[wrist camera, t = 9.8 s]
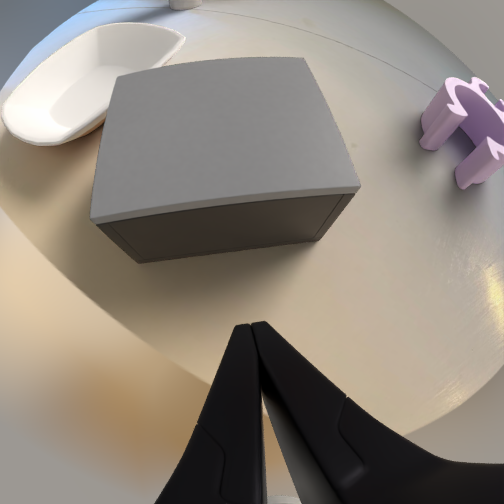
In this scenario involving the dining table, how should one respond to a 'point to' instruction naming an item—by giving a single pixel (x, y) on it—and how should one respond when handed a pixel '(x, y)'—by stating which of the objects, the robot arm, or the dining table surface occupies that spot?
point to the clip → (467, 127)
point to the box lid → (217, 138)
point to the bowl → (83, 81)
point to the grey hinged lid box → (226, 227)
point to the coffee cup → (184, 4)
